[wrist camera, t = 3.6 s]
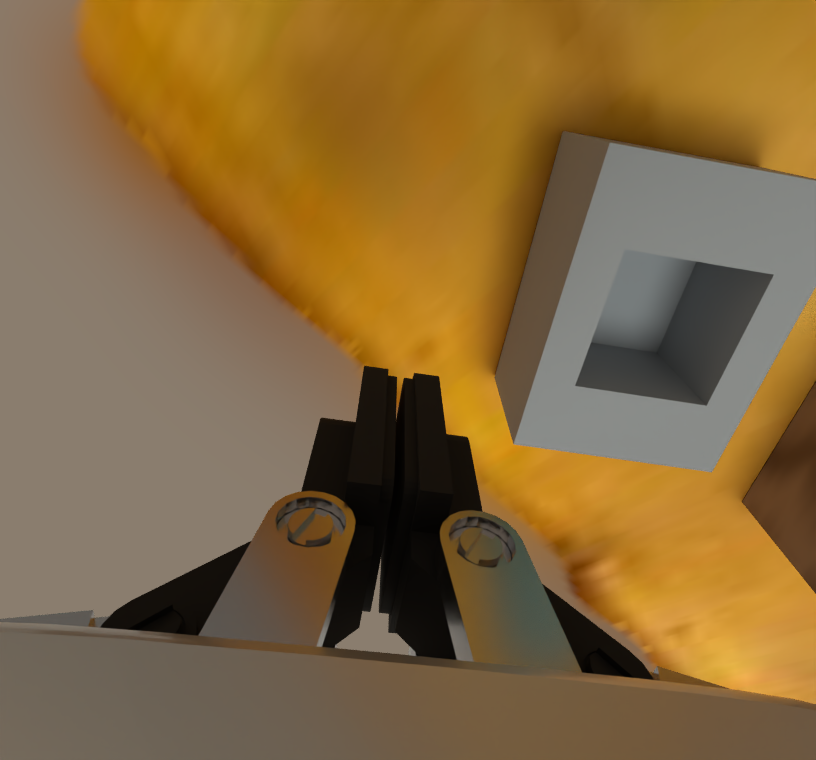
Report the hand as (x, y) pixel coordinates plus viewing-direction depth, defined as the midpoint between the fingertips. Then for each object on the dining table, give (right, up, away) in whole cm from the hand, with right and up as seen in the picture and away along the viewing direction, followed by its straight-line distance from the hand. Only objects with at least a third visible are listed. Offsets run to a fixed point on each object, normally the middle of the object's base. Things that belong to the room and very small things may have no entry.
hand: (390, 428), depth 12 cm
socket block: (+10, +6, +13) cm, 18 cm away
